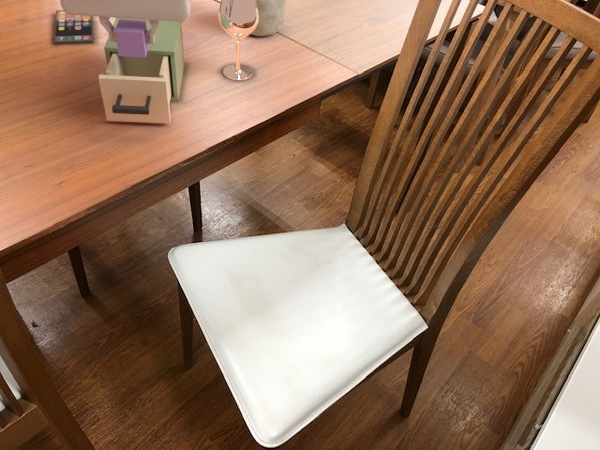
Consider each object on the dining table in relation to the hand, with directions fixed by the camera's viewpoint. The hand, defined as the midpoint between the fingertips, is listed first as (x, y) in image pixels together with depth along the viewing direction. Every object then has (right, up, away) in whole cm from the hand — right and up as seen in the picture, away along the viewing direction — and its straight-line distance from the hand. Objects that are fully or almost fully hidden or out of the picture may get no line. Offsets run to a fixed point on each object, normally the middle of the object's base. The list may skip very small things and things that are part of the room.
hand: (132, 41), depth 87 cm
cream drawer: (-1, -10, +10) cm, 14 cm away
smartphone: (-24, +14, +31) cm, 41 cm away
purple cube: (0, -1, +1) cm, 2 cm away
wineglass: (+15, +2, +24) cm, 29 cm away
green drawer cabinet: (-2, -1, +18) cm, 19 cm away
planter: (+19, +17, +40) cm, 47 cm away
